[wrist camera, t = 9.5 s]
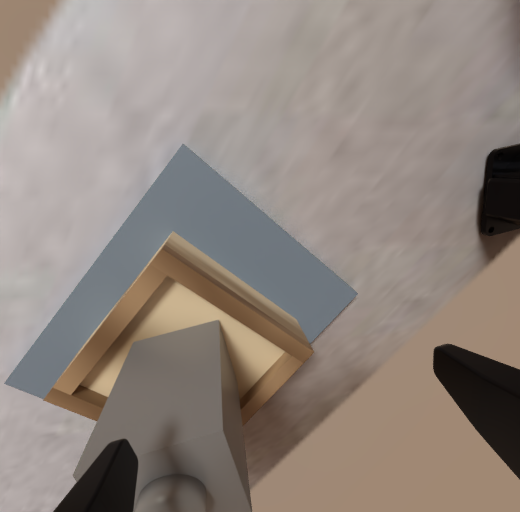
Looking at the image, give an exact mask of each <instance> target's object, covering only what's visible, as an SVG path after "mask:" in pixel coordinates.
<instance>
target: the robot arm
mask: <svg viewBox="0 0 520 512" xmlns="http://www.w3.org/2000/svg"><path fill="white" fill-rule="evenodd" d="M497 155H498V156H497ZM519 228H520V144H516V145H511V146H507V147H502V148H498V149H494V150H493V151H492V152H491V153H490V154H489V158H488V167H487V176H486V186H485V195H484V205H483V214H482V224H481V233H482V234H483V235H487V236H492V235H496V234H500V233H504V232H508V231H512V230H515V229H519ZM433 369H434V373H435V375H436V377H437V378H438V379H439V381H440V382H441V383H442V385H443V386H444V387H445V389H446V390H447V392H448V393H449V394H450V396H451V397H452V398H453V399H454V401H455V402H456V404H457V405H458V406H459V408H460V409H461V410H462V411H463V413H464V414H465V416H466V417H467V418H468V420H469V421H470V422H471V424H472V425H473V426H474V427H475V429H476V430H477V431H478V432H479V433H480V435H481V436H482V437H483V438H484V439H485V440H486V442H487V443H488V444H489V445H490V446H491V447H492V448H493V450H494V451H495V452H496V453H497V454H498V455H499V456H500V458H501V459H502V460H503V461H504V462H505V463H506V464H507V466H509V468H510V469H511V470H512V471H513V472H514V474H515V475H516V476H517V477H518V478H519V479H520V370H519V369H516V368H514V367H511V366H509V365H506V364H503V363H500V362H498V361H495V360H492V359H490V358H487V357H484V356H481V355H479V354H476V353H473V352H471V351H468V350H465V349H462V348H460V347H457V346H455V345H452V344H444V345H441V346H437V347H435V349H434V356H433ZM137 474H138V458H137V455H136V454H135V452H134V450H133V448H132V447H131V445H130V443H129V441H128V440H127V439H125V438H122V439H119V440H115V441H112V442H110V443H109V444H108V445H107V446H106V447H105V448H104V449H103V451H102V452H101V453H100V454H99V455H98V457H97V458H96V459H95V460H94V462H93V463H92V464H91V465H90V467H89V468H88V469H87V470H86V472H85V473H84V474H83V475H82V477H81V478H80V479H79V480H78V482H77V483H76V484H75V485H74V486H73V488H72V489H71V490H70V491H69V493H68V494H67V495H66V496H65V498H64V499H63V500H62V501H61V503H60V504H59V505H58V506H57V508H56V509H55V510H54V511H53V512H133V509H134V500H135V492H136V483H137Z"/></svg>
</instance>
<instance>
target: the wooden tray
mask: <svg viewBox="0 0 520 512" xmlns="http://www.w3.org/2000/svg"><path fill="white" fill-rule="evenodd" d="M215 320H219V322H220V325H221V328H222V332H223V335H224V339H225V342H226V345H227V349H228V352H229V355H230V359H231V362H232V366H233V369H234V372H235V376H236V379H237V383H238V391H239V400H240V408H241V417H242V426H243V425H244V424H245V423H246V422H247V421H248V420H249V419H250V418H251V417H252V416H253V415H254V414H255V413H256V412H257V411H258V410H259V409H260V408H261V407H262V406H263V405H264V404H265V403H266V402H267V401H268V399H269V398H270V397H271V396H272V395H273V394H274V393H275V392H276V391H277V390H278V389H279V388H280V387H281V386H282V385H283V384H284V383H285V382H286V381H287V380H288V379H289V378H290V377H291V376H292V375H293V374H294V373H295V372H296V370H297V369H298V368H299V367H300V366H301V365H302V364H303V363H304V362H305V361H306V360H307V359H308V358H309V357H310V356H311V355H312V354H313V353H314V351H313V349H312V347H311V345H310V343H309V342H308V340H307V338H306V336H305V334H304V332H303V331H302V329H301V327H300V325H299V323H298V321H297V319H295V318H294V317H292V316H291V315H290V314H288V313H287V312H285V311H284V310H283V309H281V308H280V307H279V306H277V305H276V304H274V303H273V302H272V301H270V300H269V299H267V298H266V297H265V296H263V295H262V294H260V293H259V292H258V291H256V290H255V289H253V288H252V287H251V286H249V285H248V284H246V283H245V282H244V281H242V280H241V279H239V278H238V277H237V276H235V275H234V274H232V273H231V272H230V271H228V270H227V269H225V268H224V267H223V266H221V265H220V264H218V263H217V262H216V261H214V260H213V259H211V258H210V257H209V256H207V255H206V254H204V253H203V252H202V251H200V250H199V249H197V248H196V247H195V246H193V245H192V244H190V243H189V242H188V241H186V240H185V239H183V238H182V237H181V236H179V235H178V234H177V233H175V232H174V231H173V232H172V233H171V234H170V236H169V237H168V238H167V239H166V241H165V242H164V243H163V245H162V246H161V247H160V248H159V250H158V251H157V252H156V253H155V255H154V256H153V257H152V259H151V260H150V261H149V262H148V264H147V265H146V266H145V267H144V269H143V270H142V271H141V273H140V274H139V275H138V276H137V278H136V279H135V280H134V281H133V283H132V284H131V285H130V287H129V288H128V289H127V290H126V292H125V293H124V294H123V295H122V297H121V298H120V299H119V301H118V302H117V303H116V304H115V306H114V307H113V308H112V309H111V311H110V312H109V313H108V315H107V316H106V317H105V318H104V320H103V321H102V322H101V323H100V325H99V326H98V327H97V329H96V330H95V331H94V332H93V334H92V335H91V336H90V337H89V339H88V340H87V341H86V343H85V344H84V345H83V346H82V348H81V349H80V350H79V351H78V353H77V354H76V355H75V357H74V358H73V360H72V361H71V362H70V364H69V365H68V366H67V368H66V369H65V371H64V372H63V373H62V375H61V376H60V377H59V379H58V380H57V381H56V383H55V384H54V386H53V387H52V388H51V390H50V391H49V392H48V394H47V395H46V397H45V398H44V399H43V400H44V401H47V402H49V403H52V404H54V405H57V406H59V407H62V408H64V409H67V410H70V411H72V412H75V413H77V414H80V415H82V416H85V417H87V418H90V419H92V420H95V421H98V419H99V416H100V414H101V412H102V410H103V408H104V405H105V403H106V401H107V399H108V397H109V394H110V392H111V390H112V388H113V386H114V383H115V381H116V379H117V377H118V375H119V372H120V370H121V368H122V366H123V364H124V361H125V359H126V357H127V355H128V353H129V350H130V348H131V346H132V344H133V342H135V341H139V340H143V339H147V338H150V337H154V336H158V335H162V334H166V333H169V332H173V331H177V330H181V329H185V328H188V327H192V326H196V325H200V324H203V323H207V322H211V321H215Z"/></svg>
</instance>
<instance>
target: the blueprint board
mask: <svg viewBox="0 0 520 512" xmlns="http://www.w3.org/2000/svg"><path fill="white" fill-rule="evenodd" d="M173 231H174V232H175V233H177V234H178V235H179V236H181V237H182V238H183V239H185V240H186V241H188V242H189V243H190V244H192V245H193V246H195V247H196V248H197V249H199V250H200V251H202V252H203V253H204V254H206V255H207V256H209V257H210V258H211V259H213V260H214V261H216V262H217V263H218V264H220V265H221V266H223V267H224V268H225V269H227V270H228V271H230V272H231V273H232V274H234V275H235V276H237V277H238V278H239V279H241V280H242V281H244V282H245V283H246V284H248V285H249V286H251V287H252V288H253V289H255V290H256V291H258V292H259V293H260V294H262V295H263V296H265V297H266V298H267V299H269V300H270V301H272V302H273V303H274V304H276V305H277V306H279V307H280V308H281V309H283V310H284V311H285V312H287V313H288V314H290V315H291V316H292V317H294V318H295V319H297V321H298V323H299V325H300V327H301V329H302V331H303V332H304V334H305V336H306V338H307V340H308V342H309V343H311V342H312V341H313V340H314V339H315V338H316V337H317V336H318V335H319V334H320V333H321V332H322V331H323V330H324V329H325V328H326V327H327V326H328V325H329V324H330V323H331V321H332V320H333V319H334V318H335V317H336V316H337V315H338V314H339V313H340V312H341V311H342V310H343V309H344V308H345V307H346V306H347V305H348V304H349V303H350V302H351V301H352V300H353V299H354V297H355V296H356V295H357V294H358V293H357V292H356V291H355V290H353V289H352V288H351V287H350V286H349V285H348V284H346V283H345V282H344V281H343V280H342V279H341V278H339V277H338V276H337V275H336V274H335V273H334V272H332V271H331V270H330V269H329V268H328V267H327V266H325V265H324V264H323V263H322V262H321V261H320V260H318V259H317V258H316V257H315V256H314V255H313V254H311V253H310V252H309V251H308V250H307V249H306V248H304V247H303V246H302V245H301V244H300V243H299V242H297V241H296V240H295V239H294V238H293V237H292V236H290V235H289V234H288V233H287V232H286V231H284V230H283V229H282V228H281V227H280V226H279V225H277V224H276V223H275V222H274V221H273V220H272V219H270V218H269V217H268V216H267V215H266V214H265V213H263V212H262V211H261V210H260V209H259V208H258V207H256V206H255V205H254V204H253V203H252V202H251V201H249V200H248V199H247V198H246V197H245V196H244V195H242V194H241V193H240V192H239V191H238V190H237V189H235V188H234V187H233V186H232V185H231V184H230V183H228V182H227V181H226V180H225V179H224V178H223V177H221V176H220V175H219V174H218V173H217V172H216V171H214V170H213V169H212V168H211V167H210V166H209V165H207V164H206V163H205V162H204V161H203V160H202V159H200V158H199V157H198V156H197V155H196V154H195V153H193V152H192V151H191V150H190V149H189V148H188V147H186V146H185V145H184V144H182V146H181V147H180V148H179V150H178V151H177V152H176V154H175V155H174V156H173V158H172V159H171V161H170V162H169V163H168V165H167V166H166V167H165V169H164V170H163V171H162V173H161V174H160V175H159V177H158V178H157V179H156V181H155V182H154V183H153V185H152V186H151V187H150V189H149V190H148V191H147V193H146V194H145V195H144V197H143V198H142V199H141V201H140V202H139V203H138V205H137V206H136V207H135V209H134V210H133V211H132V213H131V214H130V215H129V217H128V218H127V219H126V221H125V222H124V223H123V225H122V226H121V227H120V229H119V230H118V232H117V233H116V234H115V236H114V237H113V238H112V240H111V241H110V242H109V244H108V245H107V246H106V248H105V249H104V250H103V252H102V253H101V254H100V256H99V257H98V258H97V260H96V261H95V262H94V264H93V265H92V266H91V268H90V269H89V270H88V272H87V273H86V274H85V276H84V277H83V278H82V280H81V281H80V282H79V284H78V285H77V286H76V288H75V289H74V290H73V292H72V293H71V294H70V296H69V297H68V298H67V300H66V301H65V302H64V304H63V305H62V307H61V308H60V309H59V311H58V312H57V313H56V315H55V316H54V317H53V319H52V320H51V321H50V323H49V324H48V325H47V327H46V328H45V329H44V331H43V332H42V333H41V335H40V336H39V337H38V339H37V340H36V341H35V343H34V344H33V345H32V347H31V348H30V349H29V351H28V352H27V353H26V355H25V356H24V357H23V359H22V360H21V361H20V363H19V364H18V365H17V367H16V368H15V369H14V371H13V372H12V373H11V375H10V376H9V377H8V379H7V380H6V382H5V383H4V384H6V385H9V386H12V387H14V388H17V389H19V390H22V391H24V392H27V393H29V394H32V395H34V396H37V397H39V398H42V399H44V398H45V397H46V395H47V394H48V392H49V391H50V390H51V388H52V387H53V386H54V384H55V383H56V381H57V380H58V379H59V377H60V376H61V375H62V373H63V372H64V371H65V369H66V368H67V366H68V365H69V364H70V362H71V361H72V360H73V358H74V357H75V355H76V354H77V353H78V351H79V350H80V349H81V348H82V346H83V345H84V344H85V343H86V341H87V340H88V339H89V337H90V336H91V335H92V334H93V332H94V331H95V330H96V329H97V327H98V326H99V325H100V323H101V322H102V321H103V320H104V318H105V317H106V316H107V315H108V313H109V312H110V311H111V309H112V308H113V307H114V306H115V304H116V303H117V302H118V301H119V299H120V298H121V297H122V295H123V294H124V293H125V292H126V290H127V289H128V288H129V287H130V285H131V284H132V283H133V281H134V280H135V279H136V278H137V276H138V275H139V274H140V273H141V271H142V270H143V269H144V267H145V266H146V265H147V264H148V262H149V261H150V260H151V259H152V257H153V256H154V255H155V253H156V252H157V251H158V250H159V248H160V247H161V246H162V245H163V243H164V242H165V241H166V239H167V238H168V237H169V236H170V234H171V233H172V232H173Z"/></svg>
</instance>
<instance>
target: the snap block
mask: <svg viewBox="0 0 520 512" xmlns="http://www.w3.org/2000/svg"><path fill="white" fill-rule="evenodd" d="M122 438H125V439H127V440H128V441H129V443H130V445H131V447H132V448H133V450H134V452H135V454H136V455H137V458H138V474H137V483H136V492H135V500H134V509H133V512H252V506H251V498H250V489H249V480H248V471H247V462H246V453H245V444H244V435H243V426H242V417H241V408H240V400H239V391H238V383H237V379H236V376H235V372H234V369H233V366H232V362H231V359H230V355H229V352H228V349H227V345H226V342H225V339H224V335H223V332H222V328H221V325H220V322H219V320H215V321H211V322H207V323H203V324H200V325H196V326H192V327H188V328H185V329H181V330H177V331H173V332H169V333H166V334H162V335H158V336H154V337H150V338H147V339H143V340H139V341H135V342H133V344H132V346H131V348H130V350H129V353H128V355H127V357H126V359H125V361H124V364H123V366H122V368H121V370H120V372H119V375H118V377H117V379H116V381H115V383H114V386H113V388H112V390H111V392H110V394H109V397H108V399H107V401H106V403H105V405H104V408H103V410H102V412H101V414H100V416H99V419H98V421H97V423H96V425H95V428H94V430H93V432H92V434H91V436H90V439H89V441H88V443H87V445H86V447H85V450H84V452H83V454H82V456H81V458H80V461H79V463H78V465H77V467H76V469H75V472H74V474H73V477H74V478H75V480H76V481H77V482H78V480H79V479H80V478H81V477H82V475H83V474H84V473H85V472H86V470H87V469H88V468H89V467H90V465H91V464H92V463H93V462H94V460H95V459H96V458H97V457H98V455H99V454H100V453H101V452H102V451H103V449H104V448H105V447H106V446H107V445H108V444H109V443H110V442H112V441H115V440H119V439H122Z"/></svg>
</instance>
